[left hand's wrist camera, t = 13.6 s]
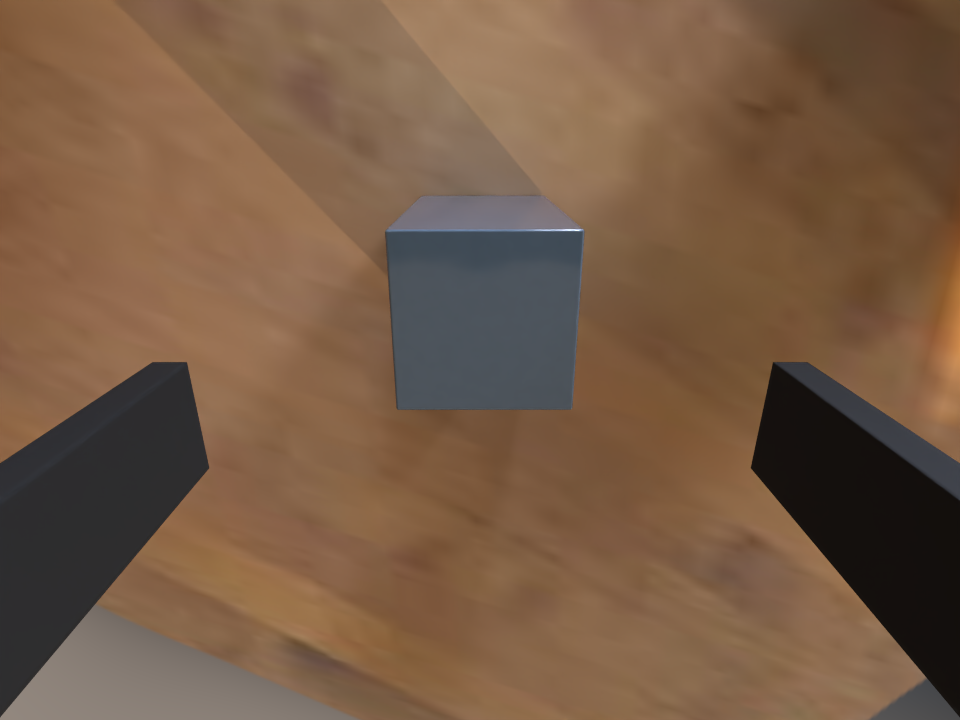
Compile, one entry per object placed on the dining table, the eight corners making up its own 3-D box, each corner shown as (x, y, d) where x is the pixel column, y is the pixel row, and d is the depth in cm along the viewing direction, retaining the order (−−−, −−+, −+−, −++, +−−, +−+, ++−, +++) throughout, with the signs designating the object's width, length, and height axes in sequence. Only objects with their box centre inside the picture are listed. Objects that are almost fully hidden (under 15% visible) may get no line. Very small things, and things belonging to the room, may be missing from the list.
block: (425, 315, 30) (396, 410, 19) (421, 195, 28) (384, 229, 17) (540, 315, 30) (572, 410, 19) (545, 195, 28) (585, 229, 17)
